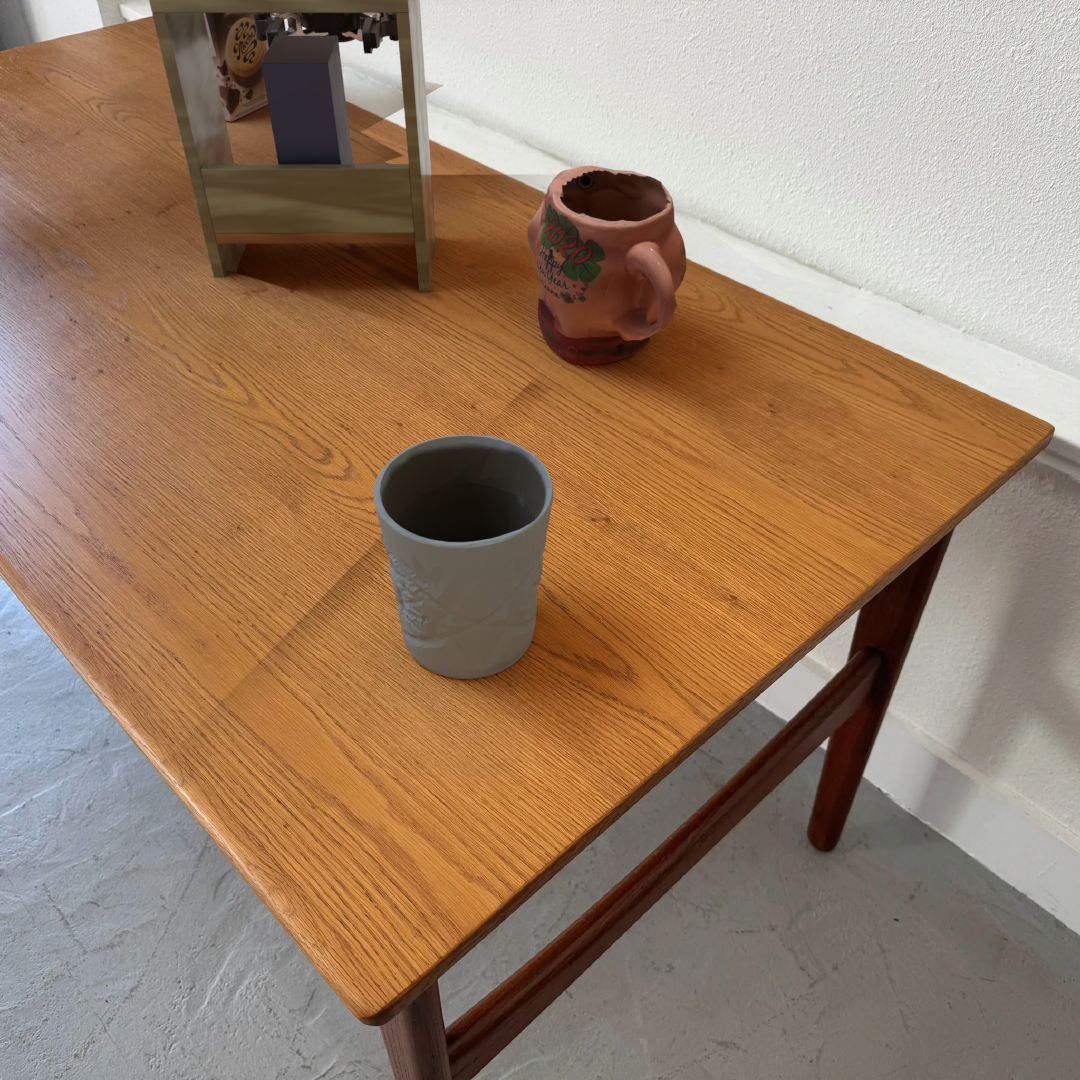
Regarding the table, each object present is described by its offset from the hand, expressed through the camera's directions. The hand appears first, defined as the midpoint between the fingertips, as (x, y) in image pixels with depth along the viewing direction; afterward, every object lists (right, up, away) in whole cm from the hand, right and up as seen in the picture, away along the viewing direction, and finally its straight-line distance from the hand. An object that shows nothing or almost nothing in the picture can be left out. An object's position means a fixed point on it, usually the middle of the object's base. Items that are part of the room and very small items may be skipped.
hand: (321, 42), depth 97 cm
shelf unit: (0, -20, +4) cm, 20 cm away
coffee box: (-18, +8, +33) cm, 39 cm away
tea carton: (0, -15, 0) cm, 15 cm away
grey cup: (+16, -53, -30) cm, 63 cm away
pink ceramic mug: (+26, -30, -6) cm, 40 cm away
